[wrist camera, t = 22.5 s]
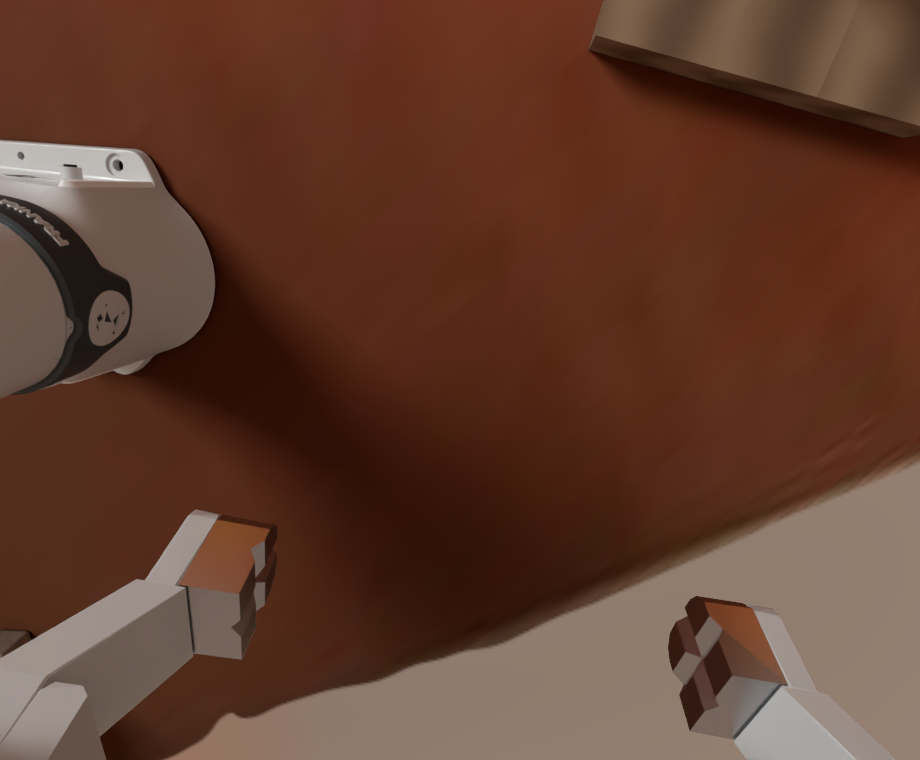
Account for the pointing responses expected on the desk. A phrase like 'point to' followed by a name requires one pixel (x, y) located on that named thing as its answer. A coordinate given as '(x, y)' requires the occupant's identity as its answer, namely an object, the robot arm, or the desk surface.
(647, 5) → the peg hole board
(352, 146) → the desk surface
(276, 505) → the desk surface
